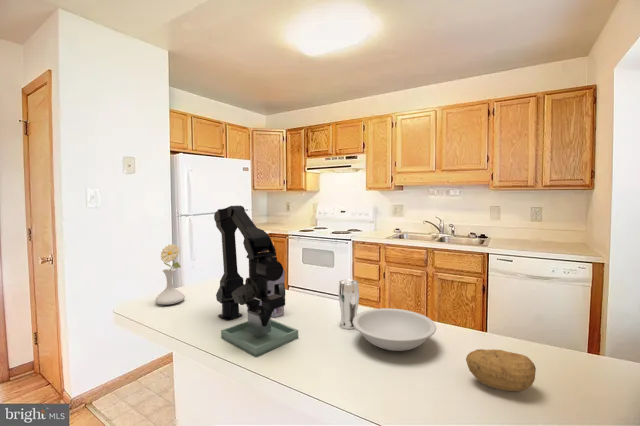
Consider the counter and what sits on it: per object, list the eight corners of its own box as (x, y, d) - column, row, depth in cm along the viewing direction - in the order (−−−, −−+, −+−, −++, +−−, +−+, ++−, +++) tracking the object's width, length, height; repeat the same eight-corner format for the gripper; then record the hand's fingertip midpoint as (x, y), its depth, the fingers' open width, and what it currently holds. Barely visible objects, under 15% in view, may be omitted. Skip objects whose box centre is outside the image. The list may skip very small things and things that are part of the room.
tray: (221, 338, 100) (221, 330, 100) (262, 322, 112) (262, 315, 112) (256, 357, 88) (255, 348, 88) (298, 338, 100) (298, 330, 100)
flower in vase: (149, 303, 133) (147, 244, 132) (175, 296, 143) (173, 240, 141) (167, 310, 126) (164, 246, 125) (193, 301, 135) (191, 242, 134)
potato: (464, 369, 81) (465, 338, 81) (530, 381, 76) (531, 348, 75) (466, 392, 72) (467, 357, 72) (540, 407, 67) (542, 369, 66)
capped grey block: (247, 332, 100) (247, 309, 100) (261, 327, 104) (260, 305, 103) (257, 337, 96) (257, 313, 96) (271, 331, 100) (271, 308, 100)
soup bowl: (382, 321, 113) (382, 303, 112) (450, 343, 96) (450, 321, 95) (336, 344, 96) (335, 322, 95) (408, 375, 79) (408, 349, 78)
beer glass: (358, 330, 105) (358, 285, 104) (337, 329, 107) (337, 284, 106) (360, 322, 112) (360, 279, 111) (340, 320, 113) (340, 278, 113)
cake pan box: (286, 316, 118) (286, 268, 118) (274, 319, 115) (274, 270, 114) (262, 302, 134) (261, 260, 133) (251, 305, 131) (250, 262, 130)
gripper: (218, 274, 100) (220, 323, 100) (255, 285, 87) (256, 341, 88) (248, 268, 108) (249, 313, 109) (286, 277, 95) (286, 329, 96)
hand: (259, 323), depth 100 cm, fingers closed on capped grey block, 5 cm apart
